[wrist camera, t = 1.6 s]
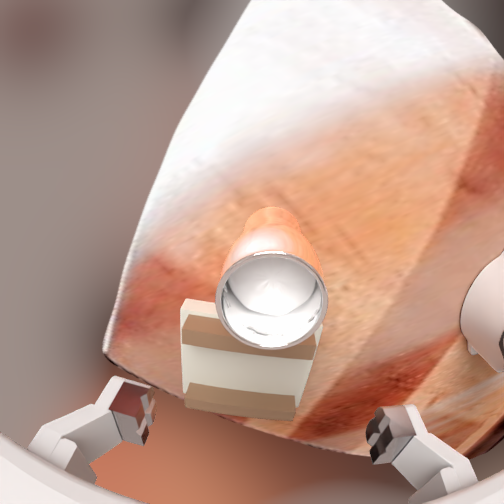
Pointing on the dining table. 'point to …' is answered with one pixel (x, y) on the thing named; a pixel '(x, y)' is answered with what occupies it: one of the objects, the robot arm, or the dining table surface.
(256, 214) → the beer glass
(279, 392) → the stand
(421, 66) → the dining table surface
